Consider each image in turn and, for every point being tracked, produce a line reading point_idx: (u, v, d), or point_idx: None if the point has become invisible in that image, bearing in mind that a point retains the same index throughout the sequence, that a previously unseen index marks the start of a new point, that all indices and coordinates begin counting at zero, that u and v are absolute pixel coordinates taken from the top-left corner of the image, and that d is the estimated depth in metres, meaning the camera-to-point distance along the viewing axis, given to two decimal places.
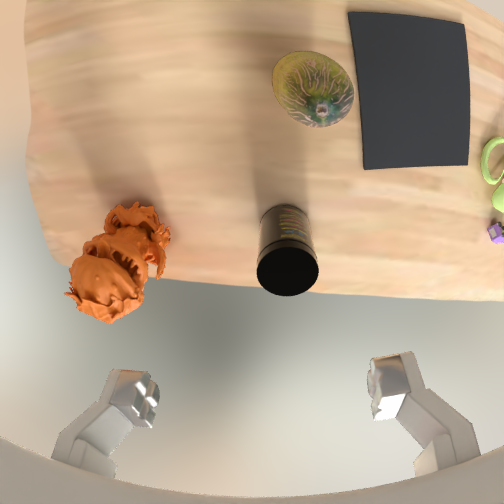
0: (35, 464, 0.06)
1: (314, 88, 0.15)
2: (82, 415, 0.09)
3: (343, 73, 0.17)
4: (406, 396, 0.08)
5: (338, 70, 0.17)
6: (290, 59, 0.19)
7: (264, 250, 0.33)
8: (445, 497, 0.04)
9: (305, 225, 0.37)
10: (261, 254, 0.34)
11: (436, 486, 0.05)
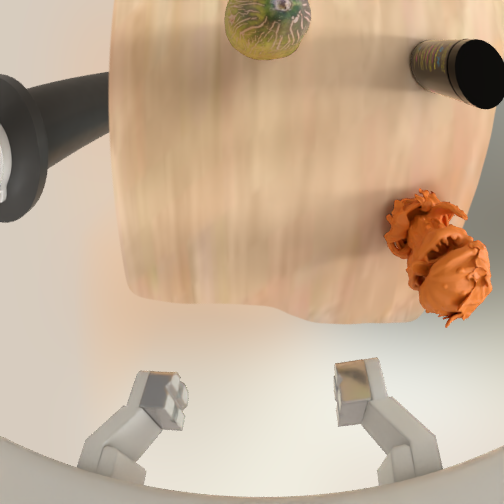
0: (34, 464, 0.06)
1: (257, 12, 0.12)
2: (110, 420, 0.08)
3: None
4: (367, 403, 0.08)
5: None
6: (233, 41, 0.17)
7: (457, 92, 0.20)
8: (445, 497, 0.04)
9: (432, 43, 0.22)
10: (461, 97, 0.21)
11: (436, 486, 0.05)
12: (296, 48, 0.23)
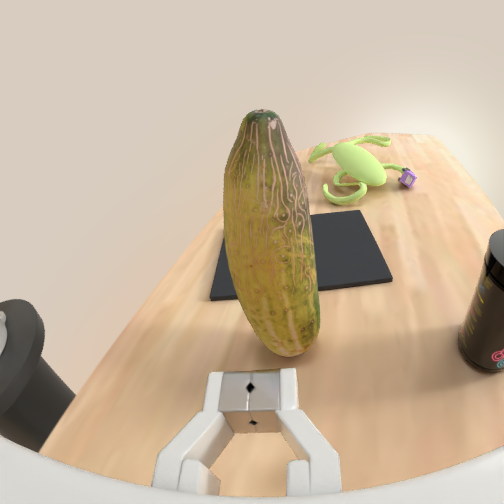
0: (34, 464, 0.06)
1: (241, 125, 0.16)
2: (185, 429, 0.08)
3: None
4: (276, 413, 0.08)
5: None
6: (226, 224, 0.19)
7: None
8: (445, 497, 0.04)
9: None
10: None
11: (436, 486, 0.05)
12: (311, 317, 0.22)
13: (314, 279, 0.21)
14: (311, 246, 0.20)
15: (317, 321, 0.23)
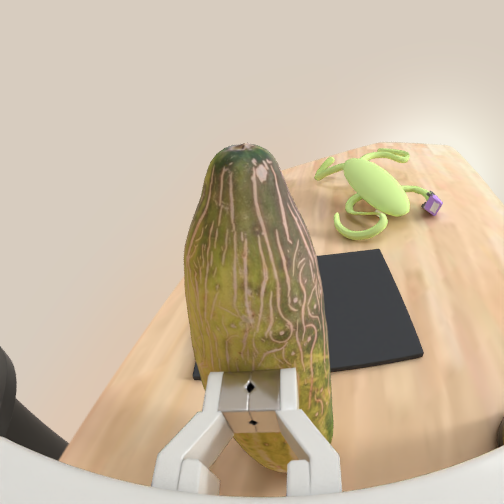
0: (34, 464, 0.06)
1: (206, 174, 0.09)
2: (185, 429, 0.08)
3: None
4: (276, 413, 0.08)
5: None
6: (191, 334, 0.12)
7: None
8: (445, 497, 0.04)
9: None
10: None
11: (436, 486, 0.05)
12: None
13: (328, 399, 0.13)
14: (326, 361, 0.12)
15: (329, 439, 0.15)
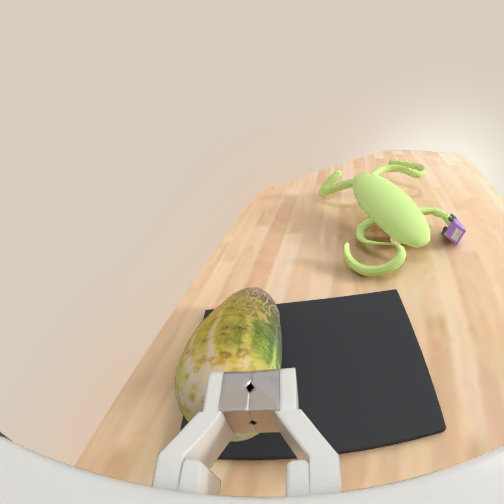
0: (34, 464, 0.06)
1: None
2: (185, 429, 0.08)
3: None
4: (275, 413, 0.08)
5: None
6: None
7: None
8: (445, 497, 0.04)
9: None
10: None
11: (436, 486, 0.05)
12: (243, 324, 0.17)
13: (262, 317, 0.19)
14: (265, 307, 0.22)
15: (255, 338, 0.15)
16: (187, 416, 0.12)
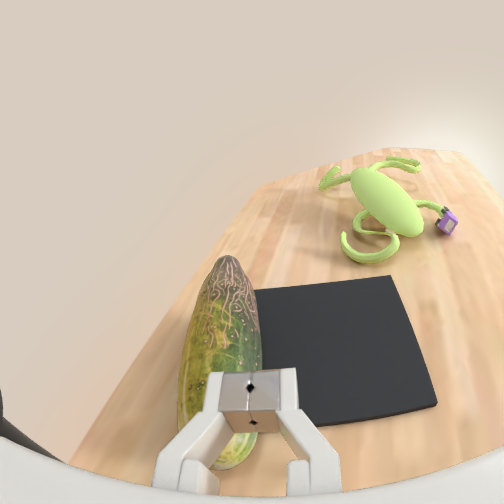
0: (34, 464, 0.06)
1: None
2: (185, 429, 0.08)
3: None
4: (276, 413, 0.08)
5: None
6: None
7: None
8: (445, 497, 0.04)
9: None
10: None
11: (436, 486, 0.05)
12: (203, 376, 0.18)
13: (220, 341, 0.21)
14: (224, 314, 0.23)
15: None
16: None
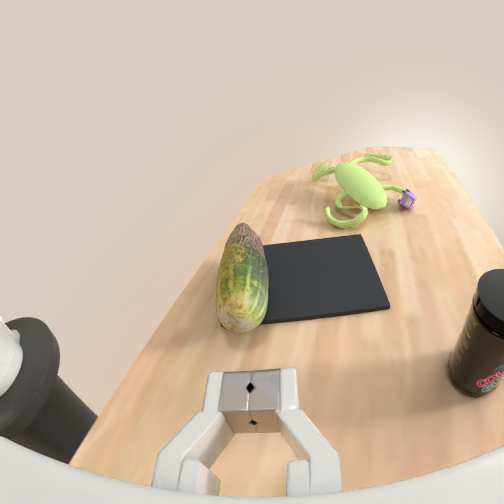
0: (34, 464, 0.06)
1: None
2: (185, 429, 0.08)
3: None
4: (276, 413, 0.08)
5: None
6: None
7: (497, 327, 0.17)
8: (445, 497, 0.04)
9: None
10: (503, 330, 0.17)
11: (436, 486, 0.05)
12: (228, 275, 0.34)
13: (238, 259, 0.36)
14: (239, 247, 0.38)
15: (234, 280, 0.33)
16: None
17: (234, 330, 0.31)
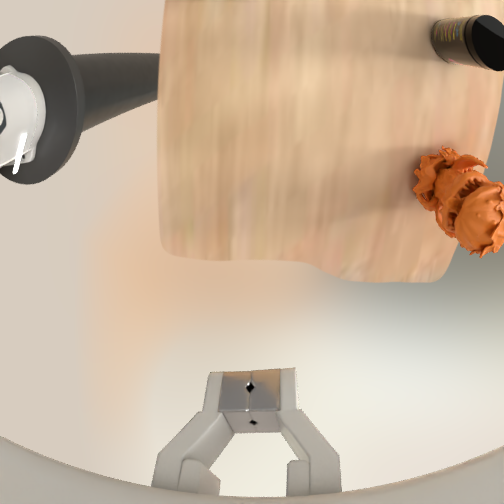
0: (35, 464, 0.06)
1: None
2: (185, 429, 0.08)
3: None
4: (276, 413, 0.08)
5: None
6: None
7: (474, 56, 0.22)
8: (445, 497, 0.04)
9: (450, 20, 0.23)
10: (477, 60, 0.22)
11: (436, 486, 0.05)
12: None
13: None
14: None
15: None
16: None
17: None
